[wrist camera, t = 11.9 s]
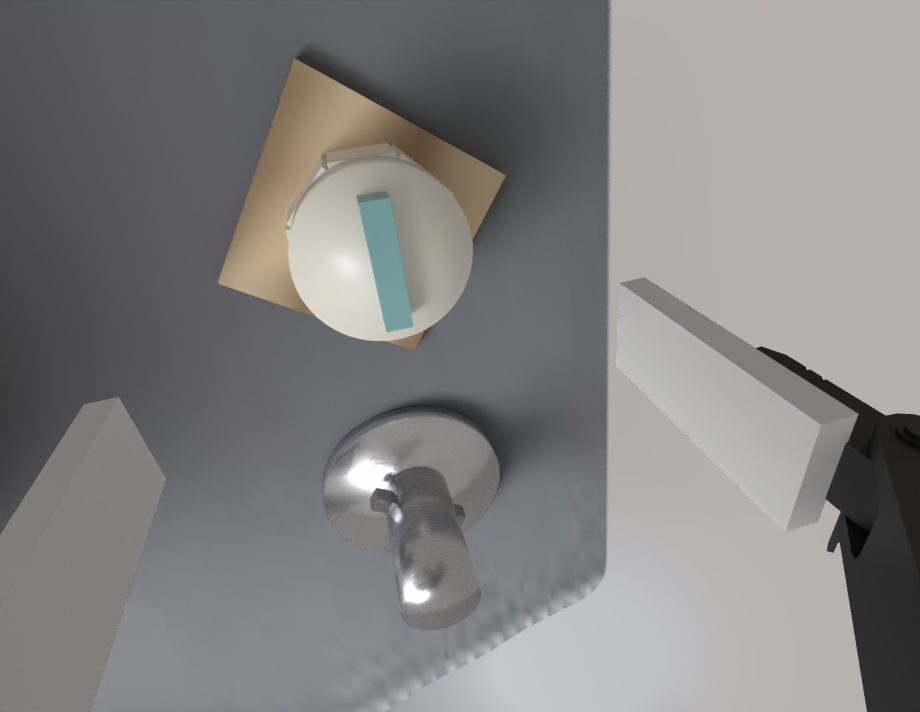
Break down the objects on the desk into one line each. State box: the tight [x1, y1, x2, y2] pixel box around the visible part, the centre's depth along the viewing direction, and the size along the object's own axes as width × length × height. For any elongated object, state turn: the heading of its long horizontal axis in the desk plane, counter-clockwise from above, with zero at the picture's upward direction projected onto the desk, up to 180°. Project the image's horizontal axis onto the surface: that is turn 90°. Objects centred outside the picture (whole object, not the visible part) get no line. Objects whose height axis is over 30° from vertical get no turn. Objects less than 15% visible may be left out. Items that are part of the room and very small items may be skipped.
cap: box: [285, 142, 473, 341], centre depth 23 cm, size 8×8×6 cm
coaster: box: [218, 58, 506, 351], centre depth 26 cm, size 11×11×1 cm
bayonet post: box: [323, 406, 500, 630], centre depth 32 cm, size 12×12×10 cm
